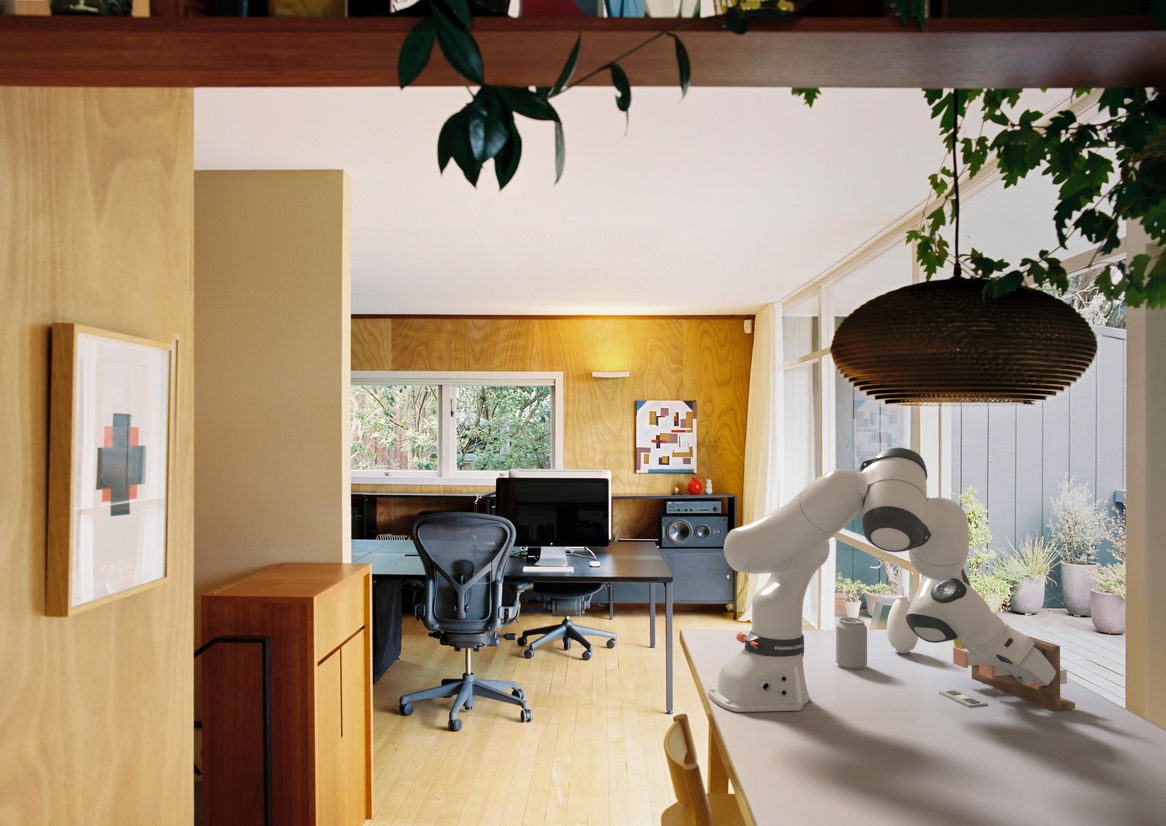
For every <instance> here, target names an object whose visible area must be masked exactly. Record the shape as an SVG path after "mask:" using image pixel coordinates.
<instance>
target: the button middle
mask: <svg viewBox="0 0 1166 826" xmlns="http://www.w3.org/2000/svg"><path fill="white" fill-rule="evenodd" d="M979 674H981V675H983V676H986V677H988V678H991V679H995V676H1003V675H1011V674H1010V673H1009V672H1007V671H1005V670H1002V669H1000V668H997V667H994V666H992V665H989V664H987V663H984V662H981V661H979Z"/></svg>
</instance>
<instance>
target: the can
mask: <svg viewBox="0 0 1166 826" xmlns="http://www.w3.org/2000/svg"><path fill="white" fill-rule="evenodd" d="M835 663H836V664H837V665H838V666H839V667H840V668H842V669H845V670H851V671H859V670H863V669H864V668H865V667H867V665H868V626H867V625H866V624H865V620H864V619H861V618H858V617H853V616H846V617H844V616H842V617H840V618H838V622H837V623H836V624H835Z"/></svg>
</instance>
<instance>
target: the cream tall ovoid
mask: <svg viewBox="0 0 1166 826" xmlns="http://www.w3.org/2000/svg"><path fill="white" fill-rule="evenodd" d="M904 593H905V592H904V586H902V587H901V595H897V599H896V600H894V603H893V604H892V605H891V608H890V610H889V613H888V616H887V622H886V633H887V635H886V636H887V638H888V641H889V643H890V645H891V647H892V648H894V649H895V651H896V652H898V653H899V652H900V653H899V654H902V653H903V654H904V655H905V653H906V654H907V653H910V652H911V651H913V650H914V649H915V647H916V645H917V643H918V640H919V637H918V636H917V635H916V634H915V633H914V632H913V631H912V630H911V628H910V627H909V626H908V624H907V621H906V616H907V612H908V610H909V607H910V605H911V603H912V602H910V600H909V597H908V596H907V595H904Z"/></svg>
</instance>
